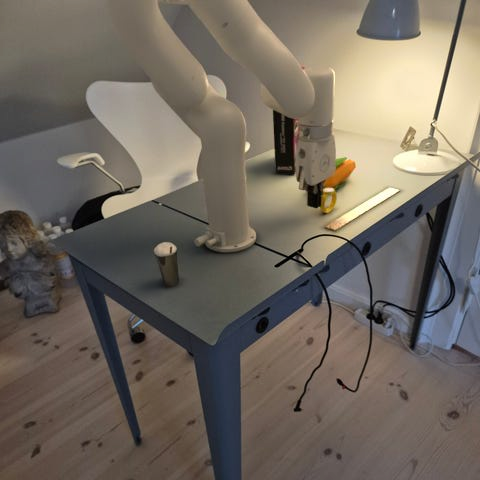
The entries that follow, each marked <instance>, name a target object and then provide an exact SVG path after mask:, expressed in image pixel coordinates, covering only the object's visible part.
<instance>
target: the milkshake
mask: <svg viewBox="0 0 480 480" xmlns="http://www.w3.org/2000/svg"><path fill="white" fill-rule="evenodd" d="M153 252H154V255H155V259H156V262H157V265H158V268H159V271H160V275H161V278H162V281H163V284H164V286H166V287H169V288H170V287H176V286H177V285H178V284H179V283H180V274H179V263H178V250H177V246H176V245H175V244H173V243H172V242H169V241H163V242H161V243H159V244H157V246H155V247H154V249H153Z"/></svg>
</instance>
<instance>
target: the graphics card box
mask: <svg viewBox="0 0 480 480" xmlns="http://www.w3.org/2000/svg"><path fill="white" fill-rule="evenodd" d="M301 67H302V69H303V70H304V69H306V67H305V66H301ZM272 124H273V125H272V126H273V127H272V128H273V147H274V169H275V171H274V173H275V174H278V175H296V154H297V146H298V140H299V118H296V119H294V118H289V117H287V116H285V115H283V114H281V113H279V112H277V111H275V110H273V109H272Z"/></svg>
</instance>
